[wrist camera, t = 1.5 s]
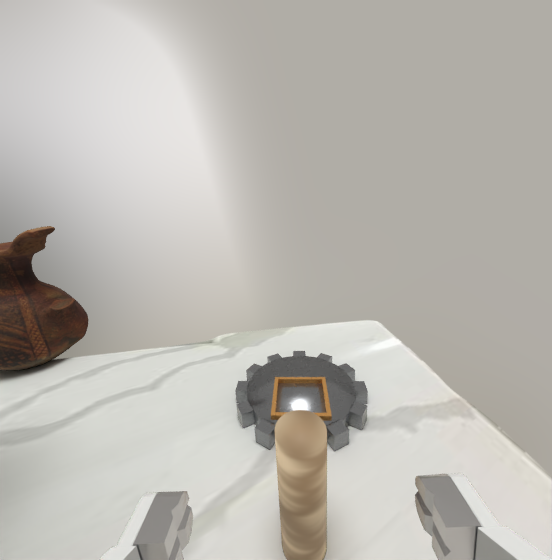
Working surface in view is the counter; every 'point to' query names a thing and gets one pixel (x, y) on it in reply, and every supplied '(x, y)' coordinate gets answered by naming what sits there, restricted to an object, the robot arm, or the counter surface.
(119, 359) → the counter surface
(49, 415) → the counter surface
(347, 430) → the sprocket
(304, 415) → the drive pin
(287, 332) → the counter surface
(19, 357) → the jug
